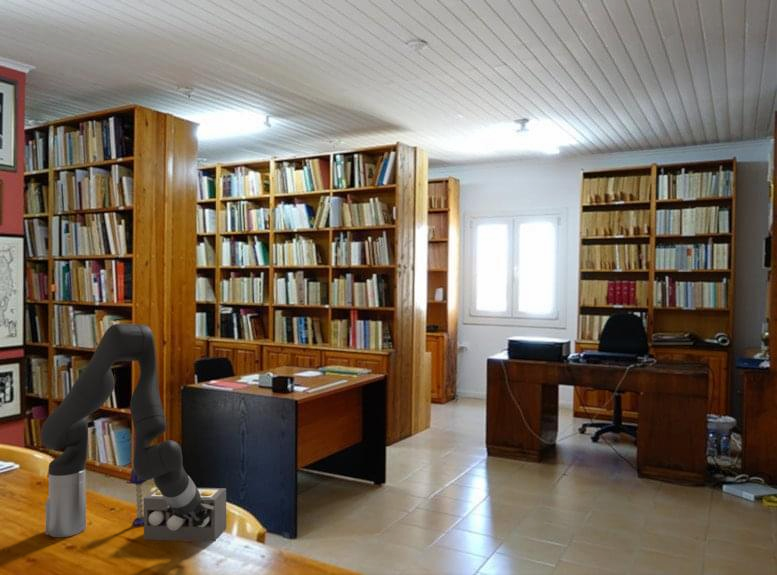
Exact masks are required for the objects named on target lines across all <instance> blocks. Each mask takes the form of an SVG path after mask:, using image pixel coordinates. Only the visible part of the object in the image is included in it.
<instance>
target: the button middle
mask: <svg viewBox="0 0 777 575" xmlns="http://www.w3.org/2000/svg"><path fill="white" fill-rule="evenodd" d="M186 519H187V518H186ZM186 519H182V518H179V517H177V516H174V515H173V516H172V517H171V518H169V519H168V521H167V526H168V528H169V529H170V530H172V531H175V530H177V529H178V528H179V527H181V526H182V525H183V524H184V522H185V520H186Z"/></svg>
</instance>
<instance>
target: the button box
mask: <svg viewBox="0 0 777 575" xmlns="http://www.w3.org/2000/svg"><path fill="white" fill-rule="evenodd" d="M197 489H198V491H199V493H200V497H201V499H202V500H204V502H205V504H210V503H214V504H215V505H214V509H213V513H212V514H211V520H210V521H209V522H208V523H207V524H206V525H205V526H204V527H199V526H196V525H195V524H194V523H193V522H192V521H191V520H189V519H188V518H187V519H186V520H185V522H184V524H183V525H182V526H181V527H179V528H178V529H177V530H175V531H172V530H170V529H169V528H168V526H167V521H168V519H169V518H171V517H172V516H173V515H172V514H170V513H167V512H166V519H165V520H163V521H162V522H161V523H160V524H159V525H157V526H154V525H151V524H150V522H149V516H150V514H151V513H153V512H154V511H155V510H167V506H168V504H167V502H166V501H165V500H164V498H163V496H162V493H161V492H160V490H159V489H158V488H157V487H156V488H155V489H154V490H153V491H150V493H148V494H147V495H146V496H144V497H143V514H144V515H143V517H144V526H143V540H144V539H149V540H150V541H175V540H184V541H185V542H209V541H215V542H217V540H218V539H217V538H220V536H221V535H222V534H223V533H224V531H226V529H227V488H223V487H221V488H218V487H197ZM202 511H203V509H202ZM216 539H217V540H216ZM186 540H188V541H186ZM184 541H183V542H184Z"/></svg>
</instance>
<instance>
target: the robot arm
mask: <svg viewBox="0 0 777 575" xmlns="http://www.w3.org/2000/svg"><path fill="white" fill-rule="evenodd" d="M156 350H157V348H156V341H155V336H154V333H153V331H152V329H151V327H149V326H148V325H146V324H145V325H144V324H132V323H131V324H130V323H115V324H112V325H110V326H109V327H108V328H107V329H106V330H105V332H104V334H103V336H102V338H101V339H100V341H99V343H98V345H97V347H96V348H95V351H94V353H93V355H92V357H91V358H90V360H89V361H88V363H87V365H86V366H85V368H84V370H83V371H82V373H81V374H80V375H79V376H78V378H76V380H75V382H74V384H73V385H72V387H71V389H70V390H69V392H68V393H67V394H66V396H65V397H64V398H63V400H62V401H61V403H59V405H58V406H57V407H56V408H55V409H54V410H53V411H52V412H51V414H50V415H48V417H47V418H46V419H45V420H44V422H43V423H42V426H41V430H40V441H41V444H42V446H44V447H45V448H46V449H48V450H52V451H53V450H60V449H65V448H66V449H65V450H64V452H63V453H62V454H61V455H59V456H57V457H55V458H54V459H53V460H52V461H50V462H49V464H48V499H46V501H45V535H47V536H50V537H53V538H67V537H72V536H75V535H78V534H81V533H82V532H84V531H85V530H86V529H87V506H86V505H87V501H86V500H87V498H86V497H87V496H86V495H87V493H86V490H87V489H86V488H87V487H86V486H87V485H86V484H87V483H86V473H87V472H86V463H87V459H88V444H89V442H88V441H89V424H88V420H87V418H86V417H88V416H90V415H91V414H93V413H95V412H97V411H98V410H99V409H100V408H101V407H102V406H104V405H105V403H106V402H107V400H108V399H109V398H110V397H111V395H112V393H113V392H114V390H115V387H116V386H115V385H116V380H115V376H114V374H113V373H114V372H112V369H111V367H112V366H113V365H114V363H117V362H123V361H124V362H126V361H127V362H136V361H137V363H138V366H139V371H140V372H139V378H138V380H137V383H136V386H135V388H134V390H133V393H132V396H131V399H130V405H129V408H130V415H131V420H132V424H133V429H134V451H133V453H134V454H133V463H132V464H133V468H134V471H135V473H136V475H137V476H138V477H139V478H140V479H142V480H147V481H149V480H152V479H153V482H154V485H155V486H156V489H157V488H158V489H159V490H160V492H161V493H162V496H163V498H164V500H165V501H166V502H167V504H168V506H167V510H166V512H167V513H170V514H172V515H174V516H177V517H179V518H182V519H186V518H188V519H189V520H191V521H192V522H193V523H194V524H195V525H196V526H201V525H202V524H203V522H204V520H205V519H206V518H207V517H209V516H210V515H211V514H212V513H213V509H214V505H215V504H214V503H210V504H205V502H204V500H202V499H201V497H200V493H199V491H198V489H197V488H198V487H197V486H196V484H195V482H194V481H193V480H192V478H191V477H190V476H189V475H188V474H187V472H186V470H185V468H184V466H183V452H182V448H181V445H180V444H179V443H178V442H177V441H175V440H173V439H172V440H171V439H168V440H167V439H166V440H164V441H161V442H159V443H156V444H153V445H151V444H152V442H153V441H155V439H158V438H159V437H160V436H161V435H163V434H164V433H165V432H166V431H167V425H168V424H167V421H166V417H165V416H166V415H165V412H164V408H163V405H162V399H161V396H160V389H159V380H158V378H159V376H158V363H157V361H158V360H157V351H156ZM202 509H203V511H202Z"/></svg>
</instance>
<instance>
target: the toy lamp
mask: <svg viewBox="0 0 777 575" xmlns="http://www.w3.org/2000/svg"><path fill="white" fill-rule="evenodd" d="M130 475H131V476H130V479H129V482H130V484H132V485H135V487H136V488H135V495H136V500H135V501H136V518H135V519H134V520H133V522H132V526H133V525H134V526H133V527H135V526H141V525H144V497H143V494H144V493H143V483H145V482H147V481H148V480H142V479H140V478H139V477H138V476H137V475H136V473H135V471H134V467H133V468H132V471H131V474H130ZM141 527H142V526H141Z"/></svg>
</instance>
